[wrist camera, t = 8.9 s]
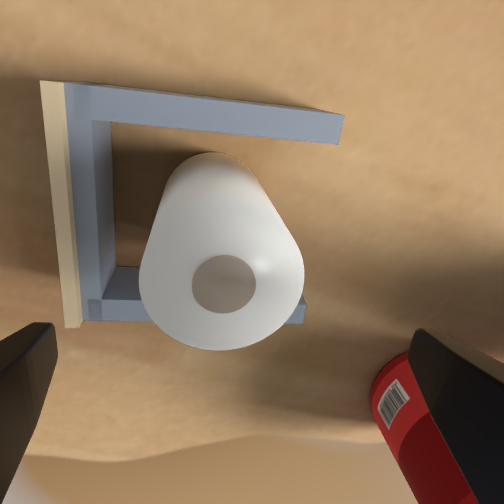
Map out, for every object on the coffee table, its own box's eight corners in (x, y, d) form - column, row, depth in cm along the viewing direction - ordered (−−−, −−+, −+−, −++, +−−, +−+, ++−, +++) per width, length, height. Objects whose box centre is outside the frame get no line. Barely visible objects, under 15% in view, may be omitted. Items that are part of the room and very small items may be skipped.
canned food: (377, 437, 30) (468, 617, 20) (355, 366, 26) (452, 540, 16) (469, 403, 29) (608, 568, 19) (459, 327, 26) (621, 479, 16)
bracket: (319, 109, 19) (349, 116, 15) (288, 290, 23) (305, 331, 19) (74, 80, 17) (39, 80, 13) (88, 284, 21) (65, 328, 17)
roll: (267, 157, 19) (319, 212, 11) (255, 249, 21) (291, 353, 13) (164, 147, 18) (137, 199, 10) (162, 244, 21) (138, 352, 12)
